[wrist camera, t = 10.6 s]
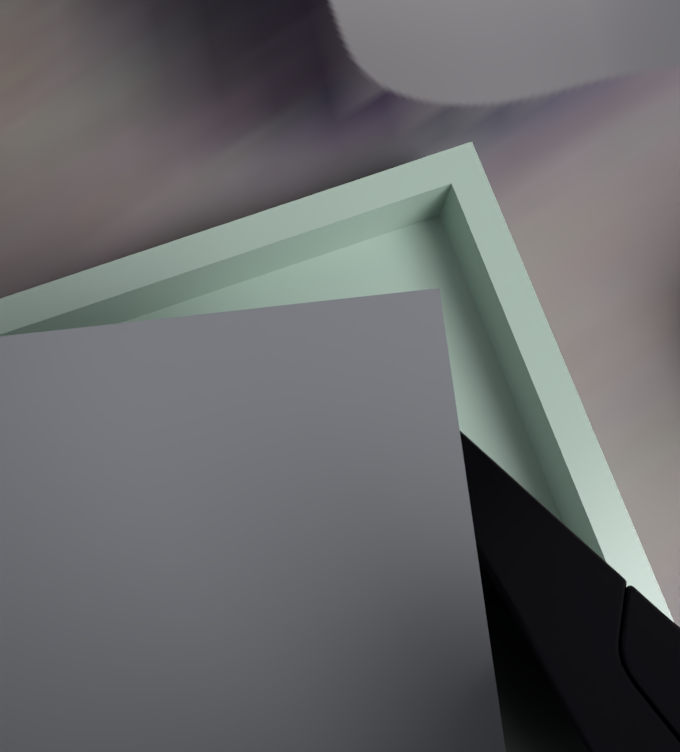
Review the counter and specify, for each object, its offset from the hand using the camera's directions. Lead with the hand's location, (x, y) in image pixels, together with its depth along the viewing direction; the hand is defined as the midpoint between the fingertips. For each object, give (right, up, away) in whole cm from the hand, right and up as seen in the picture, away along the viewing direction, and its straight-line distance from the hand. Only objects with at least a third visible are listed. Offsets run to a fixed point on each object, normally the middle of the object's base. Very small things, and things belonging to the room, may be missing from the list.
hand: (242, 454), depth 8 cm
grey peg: (0, -2, +6) cm, 7 cm away
